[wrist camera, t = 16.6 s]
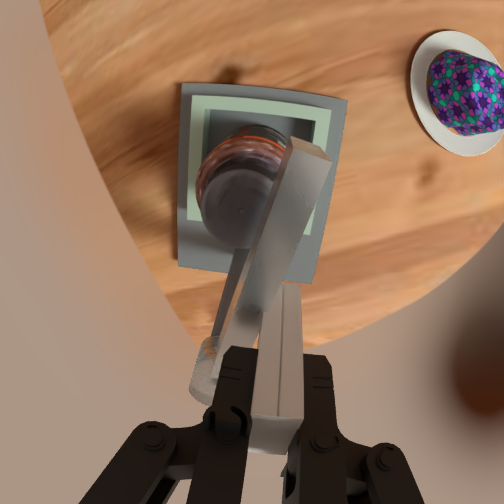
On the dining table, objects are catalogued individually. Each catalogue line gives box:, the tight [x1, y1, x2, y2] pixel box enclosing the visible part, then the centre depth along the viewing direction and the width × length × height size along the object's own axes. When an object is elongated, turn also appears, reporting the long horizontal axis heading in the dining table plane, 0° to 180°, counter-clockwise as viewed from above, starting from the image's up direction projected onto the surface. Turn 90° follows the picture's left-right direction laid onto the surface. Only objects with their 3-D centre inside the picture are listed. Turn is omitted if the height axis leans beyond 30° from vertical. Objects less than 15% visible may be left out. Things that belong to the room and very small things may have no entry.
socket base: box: [177, 83, 348, 336], centre depth 20 cm, size 17×13×13 cm
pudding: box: [411, 31, 504, 156], centre depth 17 cm, size 12×12×5 cm
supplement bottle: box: [195, 125, 288, 249], centre depth 19 cm, size 6×6×11 cm
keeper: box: [189, 136, 332, 406], centre depth 13 cm, size 13×3×3 cm, turn 163°
